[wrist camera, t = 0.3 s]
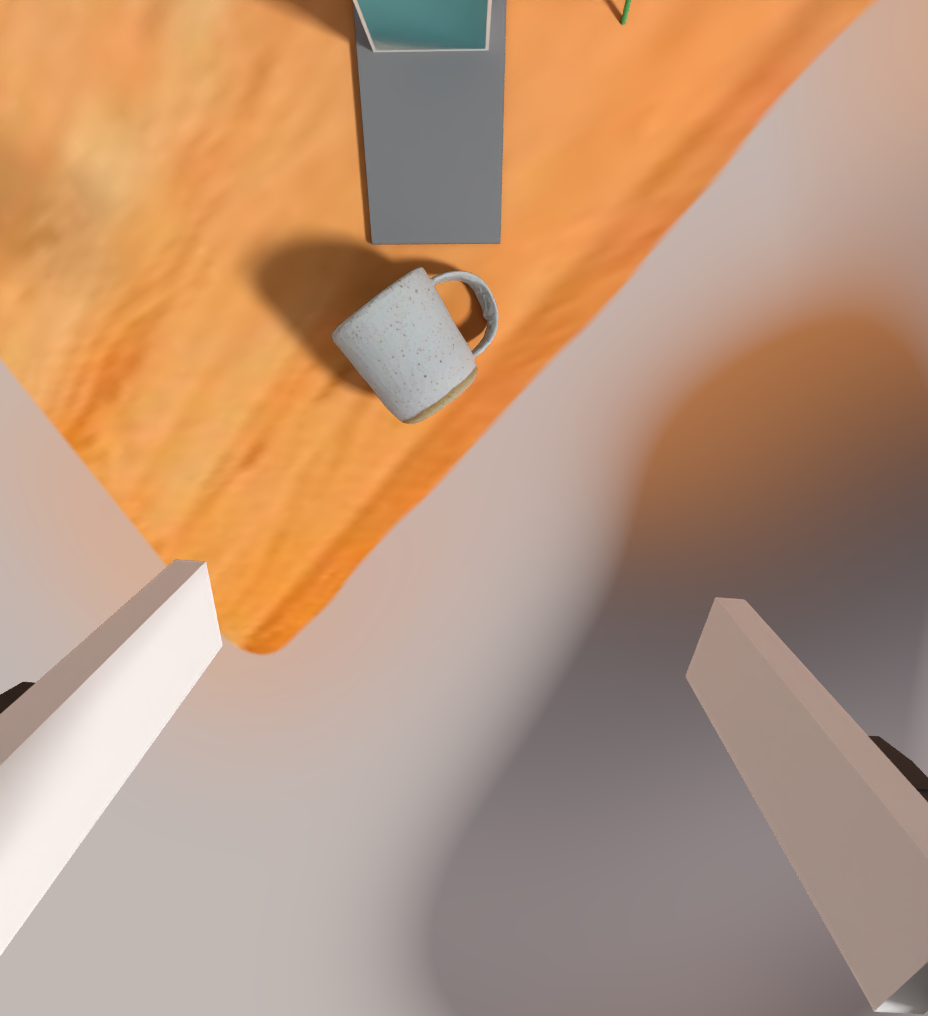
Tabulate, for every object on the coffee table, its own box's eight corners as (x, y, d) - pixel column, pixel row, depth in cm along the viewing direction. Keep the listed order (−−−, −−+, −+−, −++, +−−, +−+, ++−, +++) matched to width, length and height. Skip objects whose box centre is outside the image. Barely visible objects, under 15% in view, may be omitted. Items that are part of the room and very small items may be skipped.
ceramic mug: (410, 418, 37) (397, 444, 30) (344, 331, 34) (313, 337, 27) (518, 339, 35) (532, 348, 28) (457, 239, 32) (455, 220, 25)
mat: (351, -34, 26) (349, -39, 26) (506, -37, 26) (507, -42, 26) (373, 244, 32) (371, 243, 32) (500, 243, 32) (500, 242, 31)
